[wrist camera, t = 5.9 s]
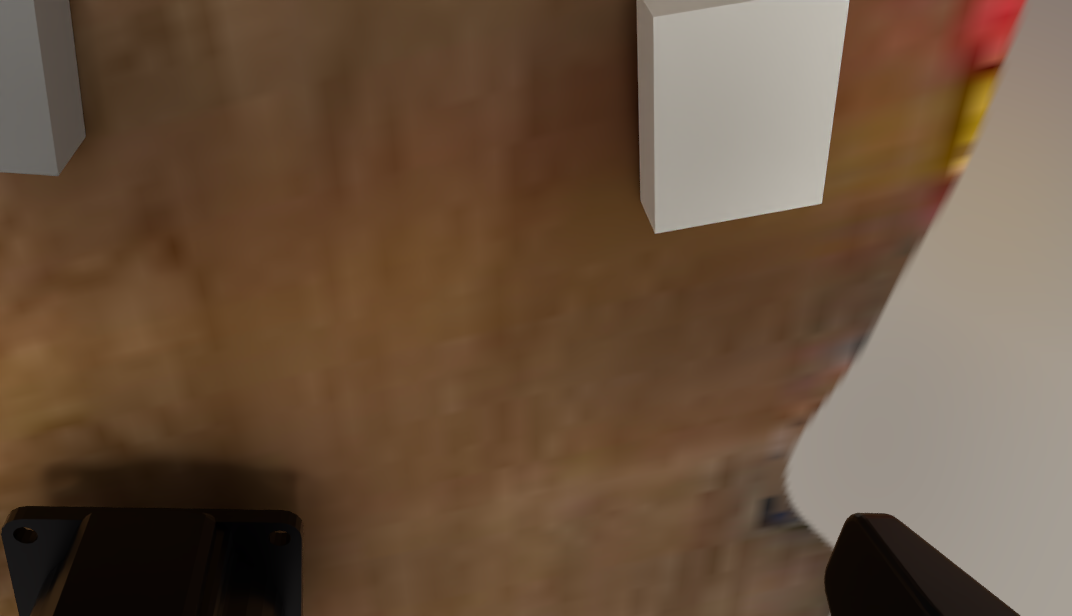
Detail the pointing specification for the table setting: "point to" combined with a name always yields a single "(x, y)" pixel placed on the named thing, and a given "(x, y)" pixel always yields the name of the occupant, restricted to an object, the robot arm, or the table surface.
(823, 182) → the eraser
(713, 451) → the table surface
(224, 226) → the table surface
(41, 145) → the tall grey pillar
